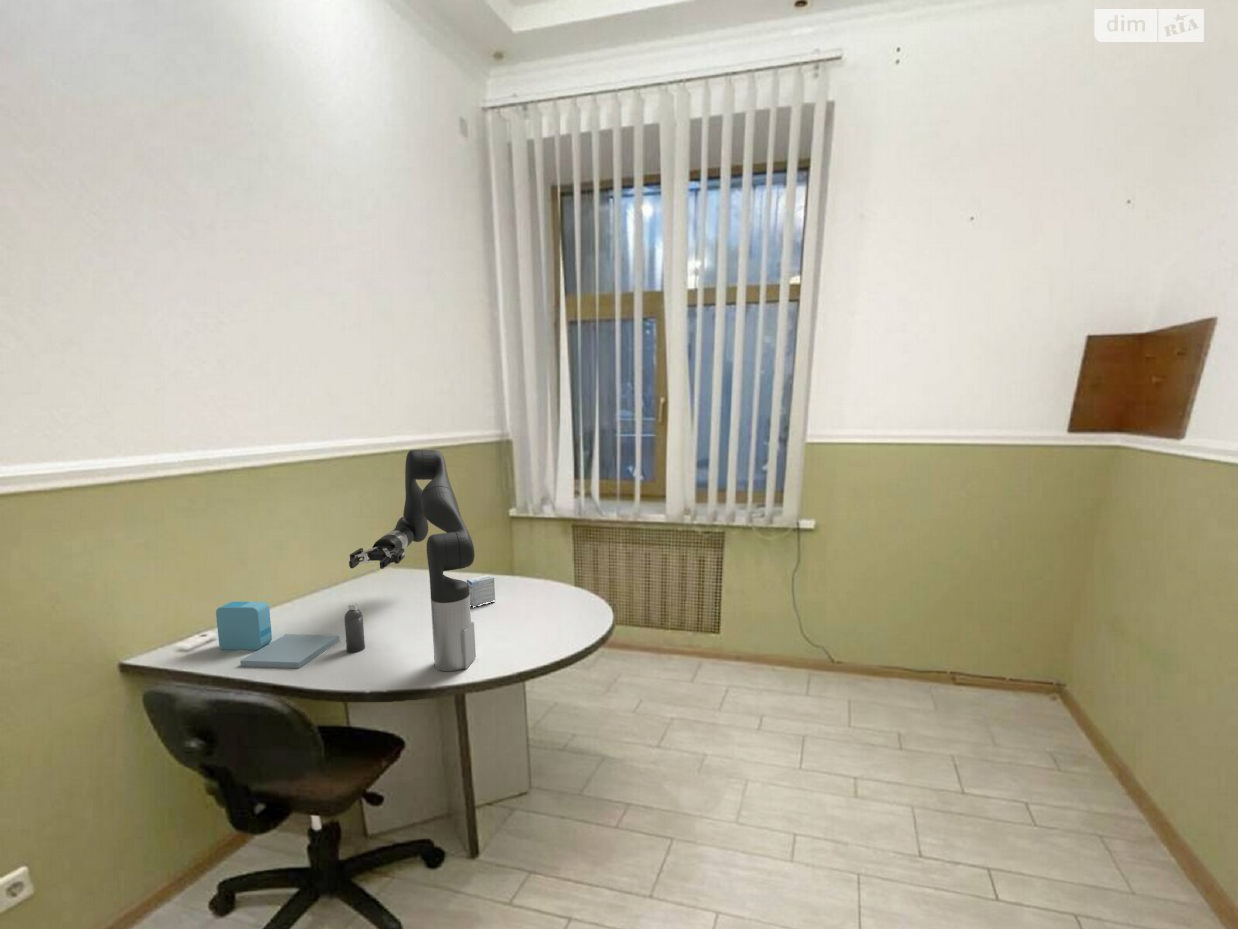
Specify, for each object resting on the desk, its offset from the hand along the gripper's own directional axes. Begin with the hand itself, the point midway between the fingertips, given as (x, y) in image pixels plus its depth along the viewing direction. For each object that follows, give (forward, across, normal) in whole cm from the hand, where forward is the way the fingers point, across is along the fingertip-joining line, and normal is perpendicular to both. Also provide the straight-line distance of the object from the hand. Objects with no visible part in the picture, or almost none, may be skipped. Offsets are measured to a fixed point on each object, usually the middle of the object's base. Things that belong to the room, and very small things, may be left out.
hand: (366, 565), depth 149 cm
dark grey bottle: (+11, +1, +19) cm, 22 cm away
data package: (+8, -31, +21) cm, 38 cm away
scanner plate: (+13, -15, +20) cm, 28 cm away
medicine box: (-22, +26, +22) cm, 40 cm away
